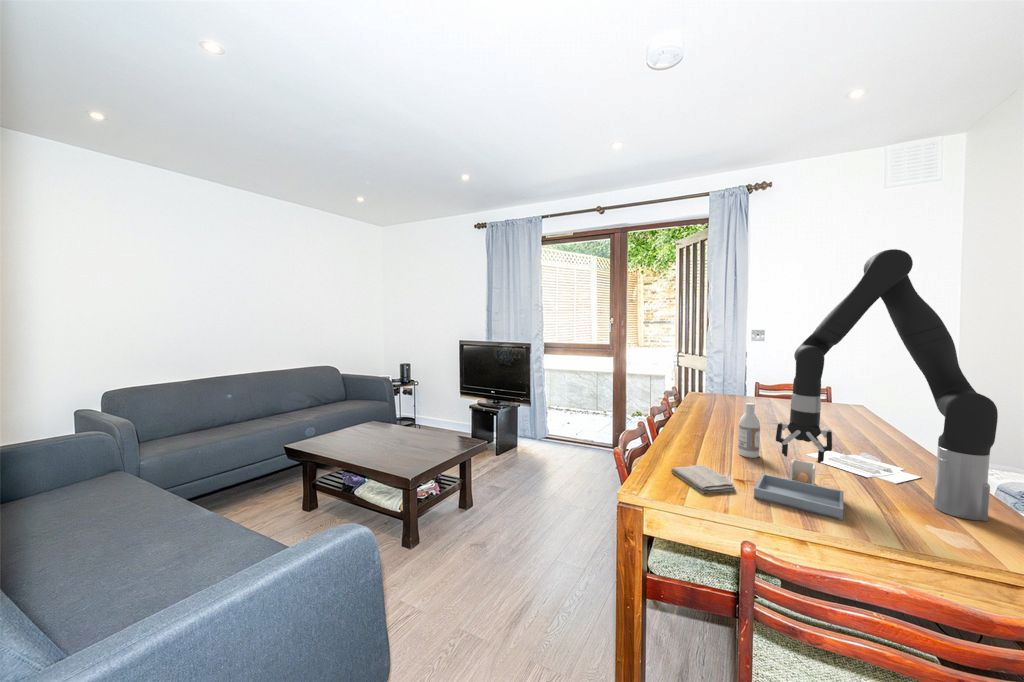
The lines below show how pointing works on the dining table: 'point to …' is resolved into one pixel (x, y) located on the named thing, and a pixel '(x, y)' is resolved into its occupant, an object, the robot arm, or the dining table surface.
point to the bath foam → (749, 433)
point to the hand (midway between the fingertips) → (801, 459)
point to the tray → (800, 496)
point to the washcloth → (704, 479)
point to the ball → (802, 477)
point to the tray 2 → (865, 466)
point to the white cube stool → (802, 470)
